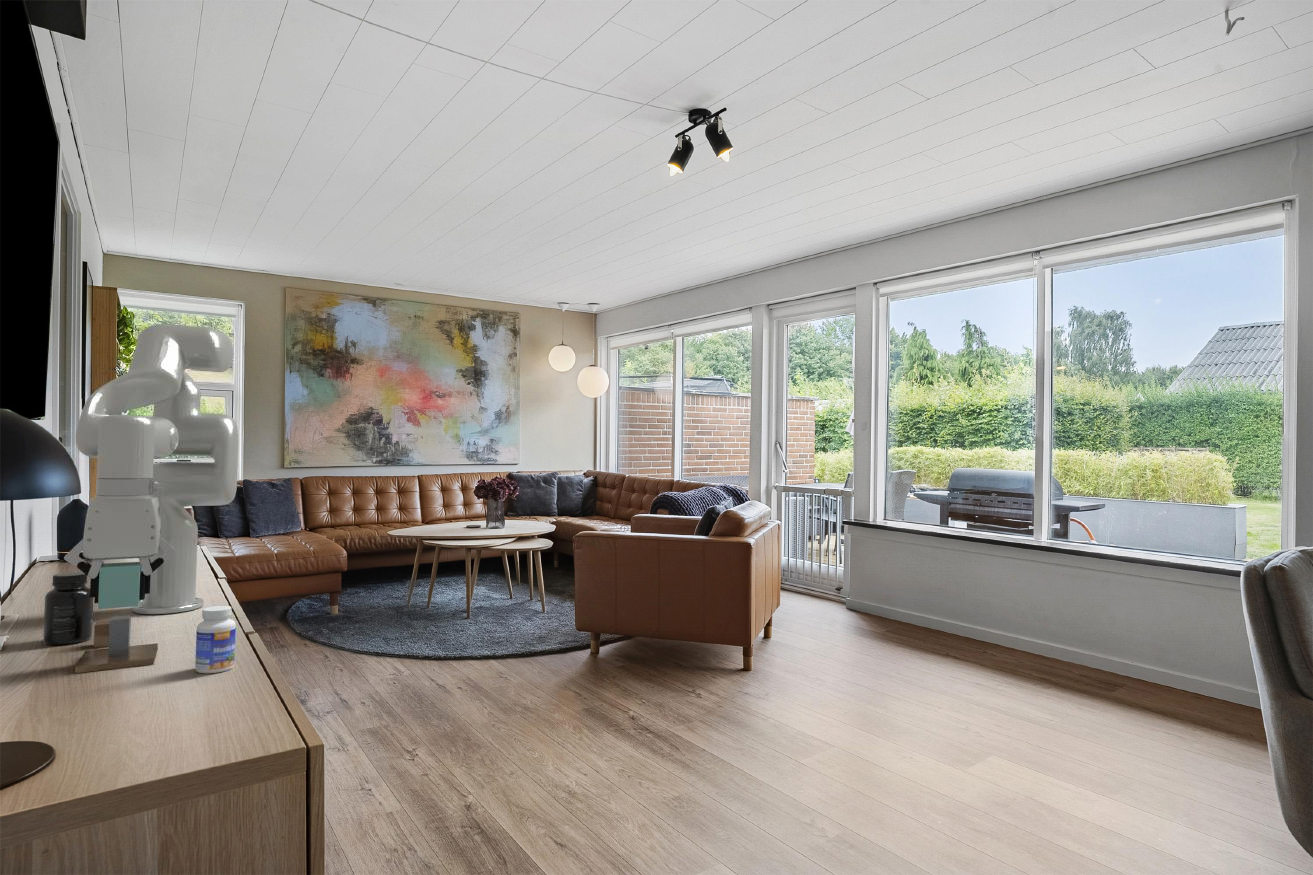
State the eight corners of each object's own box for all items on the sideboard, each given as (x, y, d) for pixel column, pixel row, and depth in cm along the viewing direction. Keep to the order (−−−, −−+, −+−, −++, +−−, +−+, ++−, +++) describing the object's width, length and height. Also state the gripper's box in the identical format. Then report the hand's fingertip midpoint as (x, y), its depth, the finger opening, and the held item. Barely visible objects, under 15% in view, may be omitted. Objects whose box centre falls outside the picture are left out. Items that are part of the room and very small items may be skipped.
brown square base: (85, 656, 119) (86, 614, 119) (157, 648, 125) (159, 608, 125) (75, 673, 111) (76, 627, 111) (153, 664, 116) (155, 621, 116)
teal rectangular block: (102, 603, 118) (104, 563, 118) (141, 600, 121) (142, 561, 121) (98, 609, 114) (99, 567, 114) (138, 606, 117) (139, 565, 117)
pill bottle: (215, 675, 111) (218, 612, 112) (186, 672, 112) (188, 610, 113) (242, 665, 117) (244, 605, 117) (214, 662, 118) (216, 603, 118)
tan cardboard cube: (96, 643, 127) (96, 621, 127) (117, 641, 128) (118, 619, 128) (93, 647, 124) (94, 624, 124) (115, 645, 126) (115, 622, 126)
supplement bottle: (102, 636, 131) (104, 571, 132) (68, 646, 125) (70, 578, 125) (68, 634, 132) (70, 569, 132) (32, 645, 125) (34, 576, 125)
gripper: (187, 488, 126) (183, 592, 125) (62, 488, 117) (57, 600, 116) (185, 490, 119) (181, 599, 119) (53, 490, 110) (48, 609, 110)
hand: (120, 598), depth 117 cm, fingers closed on teal rectangular block, 5 cm apart
